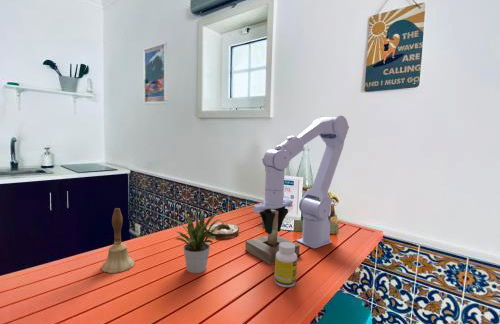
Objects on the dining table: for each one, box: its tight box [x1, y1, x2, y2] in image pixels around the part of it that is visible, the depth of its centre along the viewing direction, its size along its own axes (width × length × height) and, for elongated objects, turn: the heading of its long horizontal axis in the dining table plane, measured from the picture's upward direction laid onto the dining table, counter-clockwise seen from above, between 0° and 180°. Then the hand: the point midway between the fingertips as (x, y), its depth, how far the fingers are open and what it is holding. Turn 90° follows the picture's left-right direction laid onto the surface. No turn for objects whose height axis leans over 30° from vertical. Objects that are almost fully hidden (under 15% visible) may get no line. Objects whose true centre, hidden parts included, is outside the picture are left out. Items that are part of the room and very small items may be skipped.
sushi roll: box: [204, 222, 240, 241], centre depth 103 cm, size 15×15×4 cm
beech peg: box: [267, 210, 279, 244], centre depth 87 cm, size 3×3×10 cm
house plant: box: [170, 209, 222, 274], centre depth 75 cm, size 14×14×16 cm
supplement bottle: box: [274, 242, 298, 288], centre depth 70 cm, size 5×5×10 cm
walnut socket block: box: [244, 234, 301, 266], centre depth 87 cm, size 12×12×3 cm
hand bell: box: [100, 207, 136, 274], centre depth 75 cm, size 8×8×16 cm
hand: (272, 231), depth 87 cm, fingers closed on beech peg, 3 cm apart
